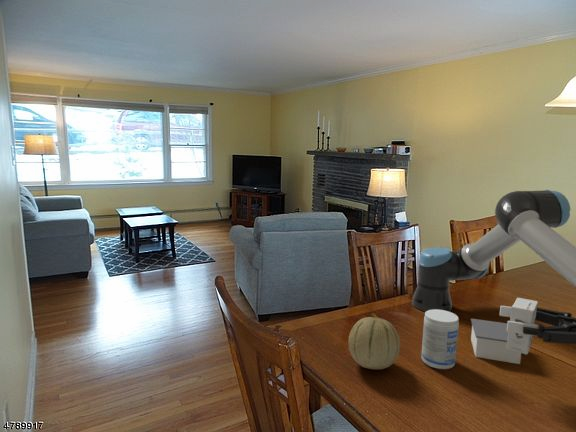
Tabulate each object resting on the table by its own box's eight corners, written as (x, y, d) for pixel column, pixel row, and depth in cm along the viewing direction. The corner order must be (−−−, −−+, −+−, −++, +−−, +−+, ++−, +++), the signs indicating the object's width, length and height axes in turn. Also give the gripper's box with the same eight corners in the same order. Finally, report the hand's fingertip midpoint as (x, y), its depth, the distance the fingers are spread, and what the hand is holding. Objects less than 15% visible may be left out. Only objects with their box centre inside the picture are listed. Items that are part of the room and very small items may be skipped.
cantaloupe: (361, 384, 105) (363, 332, 102) (339, 356, 119) (340, 310, 116) (409, 376, 109) (413, 325, 106) (382, 350, 123) (385, 305, 120)
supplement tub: (452, 374, 110) (457, 325, 107) (417, 365, 115) (421, 317, 112) (456, 358, 118) (461, 312, 116) (424, 350, 123) (427, 306, 120)
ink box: (512, 336, 107) (517, 296, 105) (532, 342, 104) (538, 300, 102) (505, 348, 101) (510, 305, 99) (527, 355, 98) (533, 311, 96)
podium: (473, 357, 119) (475, 335, 118) (469, 338, 131) (471, 318, 130) (522, 365, 115) (524, 343, 114) (512, 344, 127) (515, 324, 126)
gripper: (625, 370, 86) (510, 351, 93) (586, 327, 107) (495, 314, 114) (631, 338, 85) (514, 322, 92) (590, 301, 105) (497, 290, 112)
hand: (503, 318), depth 103 cm, fingers closed on ink box, 9 cm apart
